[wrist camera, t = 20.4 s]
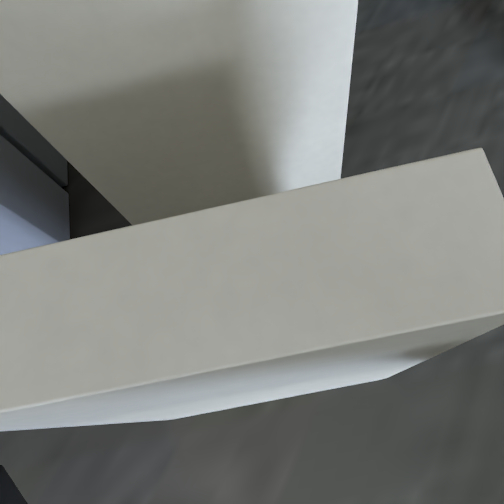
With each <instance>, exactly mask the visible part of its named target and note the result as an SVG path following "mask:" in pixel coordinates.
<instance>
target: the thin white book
mask: <svg viewBox="0 0 504 504" xmlns="http://www.w3.org/2000/svg"><path fill="white" fill-rule="evenodd" d="M501 325H504V198H503V196H502V193H501V191H500V189H499V186H498V184H497V181H496V179H495V177H494V174H493V172H492V170H491V167H490V165H489V163H488V160H487V158H486V155H485V153H484V151H483V149H482V148H476V149H472V150H467V151H463V152H458V153H454V154H449V155H445V156H440V157H436V158H431V159H427V160H423V161H418V162H414V163H409V164H405V165H400V166H396V167H391V168H387V169H382V170H378V171H373V172H369V173H364V174H360V175H356V176H351V177H347V178H342V179H338V180H333V181H329V182H324V183H320V184H315V185H311V186H306V187H302V188H298V189H293V190H289V191H284V192H280V193H275V194H271V195H266V196H262V197H257V198H253V199H248V200H244V201H240V202H235V203H231V204H226V205H222V206H217V207H213V208H208V209H204V210H199V211H195V212H190V213H186V214H181V215H177V216H173V217H168V218H164V219H159V220H155V221H150V222H146V223H141V224H137V225H132V226H128V227H123V228H119V229H115V230H110V231H106V232H101V233H97V234H92V235H88V236H83V237H79V238H74V239H70V240H65V241H61V242H57V243H52V244H48V245H43V246H39V247H34V248H30V249H25V250H21V251H16V252H12V253H7V254H3V255H0V431H13V430H27V429H42V428H57V427H71V426H86V425H101V424H115V423H130V422H145V421H160V420H172V419H178V418H183V417H188V416H193V415H198V414H204V413H209V412H214V411H219V410H225V409H230V408H235V407H240V406H245V405H251V404H256V403H261V402H266V401H272V400H277V399H282V398H287V397H292V396H298V395H303V394H308V393H313V392H319V391H324V390H329V389H334V388H339V387H345V386H350V385H355V384H360V383H366V382H371V381H376V380H381V379H386V378H388V377H390V376H392V375H395V374H397V373H399V372H401V371H403V370H405V369H408V368H410V367H412V366H414V365H416V364H419V363H421V362H423V361H425V360H427V359H429V358H432V357H434V356H436V355H438V354H440V353H443V352H445V351H447V350H449V349H451V348H453V347H456V346H458V345H460V344H462V343H464V342H467V341H469V340H471V339H473V338H475V337H477V336H480V335H482V334H484V333H486V332H488V331H491V330H493V329H495V328H497V327H499V326H501Z"/></svg>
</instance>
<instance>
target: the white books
mask: <svg viewBox="0 0 504 504" xmlns="http://www.w3.org/2000/svg"><path fill="white" fill-rule="evenodd" d="M357 8H358V0H0V94H1V95H2V96H3V97H4V98H5V99H6V100H7V101H8V102H9V103H10V104H11V105H12V106H13V107H14V108H15V109H16V110H17V111H18V112H19V113H20V114H21V115H22V116H23V117H24V118H25V119H26V120H27V121H28V122H29V123H30V124H31V125H32V126H33V127H34V128H35V129H36V130H37V131H38V132H39V133H40V134H41V135H42V136H43V137H44V138H45V139H46V140H47V141H48V142H49V143H50V144H51V145H52V146H53V147H54V148H55V149H56V150H57V151H58V152H59V153H60V154H61V155H62V156H63V157H64V158H65V159H66V160H67V161H68V162H69V163H70V164H71V165H72V166H73V167H74V168H75V169H76V170H77V171H78V172H79V173H81V174H82V175H83V176H84V177H85V178H86V179H87V180H88V181H89V182H90V183H91V184H92V185H93V186H94V187H95V188H96V189H97V190H98V191H99V192H100V193H101V194H102V195H103V196H104V197H105V198H106V199H107V200H108V201H109V202H110V203H111V204H112V205H113V206H114V207H115V208H116V209H117V210H118V211H119V212H120V213H121V214H122V215H123V216H124V217H125V218H126V219H127V220H128V221H129V222H130V223H131V224H132V225H137V224H141V223H146V222H150V221H155V220H159V219H164V218H168V217H173V216H177V215H181V214H186V213H190V212H195V211H199V210H204V209H208V208H213V207H217V206H222V205H226V204H231V203H235V202H240V201H244V200H248V199H253V198H257V197H262V196H266V195H271V194H275V193H280V192H284V191H289V190H293V189H298V188H302V187H306V186H311V185H315V184H320V183H324V182H329V181H333V180H338V179H340V178H341V168H342V158H343V148H344V138H345V128H346V118H347V108H348V98H349V88H350V78H351V68H352V58H353V48H354V38H355V28H356V18H357Z"/></svg>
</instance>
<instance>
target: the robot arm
mask: <svg viewBox="0 0 504 504" xmlns="http://www.w3.org/2000/svg"><path fill="white" fill-rule="evenodd" d="M0 504H27V502H26V501H25V499H24V498H23V496H22V495H21V493H20V492H19V490H18V489H17V487H16V485H15V484H14V482H13V481H12V479H11V478H10V476H9V475H8V473H7V472H6V470H5V469H4V467H3V466H2V465H0Z"/></svg>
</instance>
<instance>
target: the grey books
mask: <svg viewBox="0 0 504 504" xmlns="http://www.w3.org/2000/svg"><path fill="white" fill-rule="evenodd" d="M67 185H68V171H67V160H66V159H65V158H64V157H63V156H62V155H61V154H60V153H59V152H58V151H57V150H56V149H55V148H54V147H53V146H52V145H51V144H50V143H49V142H48V141H47V140H46V139H45V138H44V137H43V136H42V135H41V134H40V133H39V132H38V131H37V130H36V129H35V128H34V127H33V126H32V125H31V124H30V123H29V122H28V121H27V120H26V119H25V118H24V117H23V116H22V115H21V114H20V113H19V112H18V111H17V110H16V109H15V108H14V107H13V106H12V105H11V104H10V103H9V102H8V101H7V100H6V99H5V98H4V97H3V96H2V95H1V94H0V255H3V254H7V253H12V252H16V251H21V250H25V249H30V248H34V247H39V246H43V245H48V244H52V243H57V242H61V241H65V240H70V222H69V194H68V193H67V192H66V191H65V190H64V189H62V188H61V187H64V186H67Z"/></svg>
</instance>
